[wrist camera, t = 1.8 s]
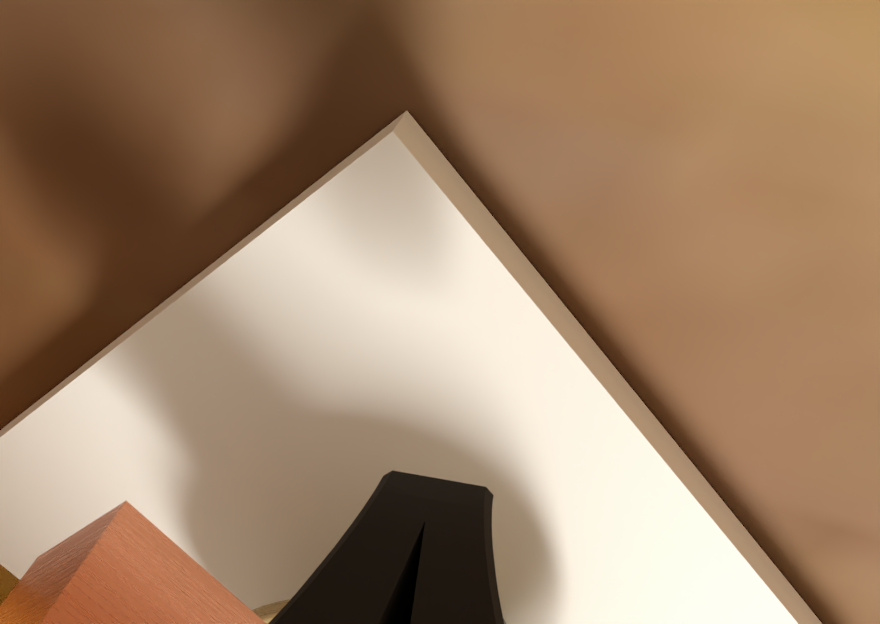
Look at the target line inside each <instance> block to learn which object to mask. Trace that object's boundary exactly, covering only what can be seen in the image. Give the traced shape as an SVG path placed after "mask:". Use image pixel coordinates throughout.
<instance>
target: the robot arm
mask: <svg viewBox="0 0 880 624" xmlns="http://www.w3.org/2000/svg"><path fill="white" fill-rule="evenodd" d="M493 496H494V495H493V494H492V493H491V492H490V491H489V489H488V488H487V487H485V486H479V485H473V484H467V483H462V482H456V481H450V480H445V479H439V478H433V477H427V476H422V475H416V474H410V473H405V472H399V471H393V470H392V471H391V472H389V473H387V474H385V475H384V476H383V477H382V479H381V481H380V482H379V484H378V486H377V487H376V489H375V491H374V492H373V494H372V495H371V497H370V498H369V500H368V501H367V503H366V504H365V506H364V507H363V509H362V510H361V511H360V513H359V514H358V516H357V517H356V518H355V520H354V521H353V523H352V524H351V525H350V527H349V528H348V529H347V531H346V532H345V533H344V535H343V536H342V537H341V539H340V540H339V541H338V543H337V544H336V545H335V547H334V548H333V549H332V550H331V552H330V553H329V554H328V555H327V556H326V558H325V559H324V560H323V561H322V562H321V564H320V565H319V566H318V567H317V569H316V570H315V571H314V572H313V573H312V575H311V576H310V577H309V578H308V580H307V581H306V582H305V583H304V584H303V586H302V587H301V588H300V589H299V590H298V592H297V593H296V594H295V595H294V596H293V597H292V598H291V600H290V601H289V602H288V603H287V604H286V605H285V606H284V607H283V608H282V609H281V610H280V612H279V613H278V614H277V615H276V616H275V617H274V618H273V619H272V620H271V621H270V622H269V623H268V624H504V620H503V615H502V610H501V605H500V599H499V593H498V587H497V580H496V572H495V563H494V554H493V541H492V504H493Z"/></svg>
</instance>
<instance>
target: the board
mask: <svg viewBox="0 0 880 624" xmlns="http://www.w3.org/2000/svg"><path fill="white" fill-rule="evenodd" d="M392 470H393V471H399V472H405V473H410V474H416V475H422V476H427V477H433V478H439V479H445V480H450V481H456V482H462V483H467V484H473V485H479V486H485V487H487V488H488V489H489V491H490V492H491V493H492V494H493V495H494V496H493V504H492V541H493V554H494V563H495V572H496V580H497V587H498V593H499V599H500V605H501V610H502V615H503V620H504V624H822V623H821V621H820V620H819V619H818V618H817V616H816V615H815V614H814V613H813V612H812V610H811V609H810V608H809V607H808V605H807V604H806V603H805V602H804V600H803V599H802V598H801V597H800V595H799V594H798V593H797V592H796V591H795V589H794V588H793V587H792V586H791V584H790V583H789V582H788V581H787V579H786V578H785V577H784V576H783V574H782V573H781V572H780V571H779V570H778V568H777V567H776V566H775V565H774V563H773V562H772V561H771V560H770V558H769V557H768V556H767V555H766V553H765V552H764V551H763V550H762V549H761V547H760V546H759V545H758V544H757V542H756V541H755V540H754V539H753V537H752V536H751V535H750V534H749V532H748V531H747V530H746V529H745V527H744V526H743V525H742V524H741V523H740V521H739V520H738V519H737V518H736V516H735V515H734V514H733V513H732V511H731V510H730V509H729V508H728V506H727V505H726V504H725V503H724V502H723V500H722V499H721V498H720V497H719V495H718V494H717V493H716V492H715V490H714V489H713V488H712V487H711V485H710V484H709V483H708V482H707V481H706V479H705V478H704V477H703V476H702V474H701V473H700V472H699V471H698V469H697V468H696V467H695V466H694V464H693V463H692V462H691V461H690V460H689V458H688V457H687V456H686V455H685V453H684V452H683V451H682V450H681V448H680V447H679V446H678V445H677V443H676V442H675V441H674V440H673V438H672V437H671V436H670V435H669V434H668V432H667V431H666V430H665V429H664V427H663V426H662V425H661V424H660V422H659V421H658V420H657V419H656V417H655V416H654V415H653V414H652V413H651V411H650V410H649V409H648V408H647V406H646V405H645V404H644V403H643V401H642V400H641V399H640V398H639V396H638V395H637V394H636V393H635V392H634V390H633V389H632V388H631V387H630V385H629V384H628V383H627V382H626V380H625V379H624V378H623V377H622V375H621V374H620V373H619V372H618V371H617V369H616V368H615V367H614V366H613V364H612V363H611V362H610V361H609V359H608V358H607V357H606V356H605V354H604V353H603V352H602V351H601V349H600V348H599V347H598V346H597V345H596V343H595V342H594V341H593V340H592V338H591V337H590V336H589V335H588V333H587V332H586V331H585V330H584V328H583V327H582V326H581V325H580V324H579V322H578V321H577V320H576V319H575V317H574V316H573V315H572V314H571V312H570V311H569V310H568V309H567V307H566V306H565V305H564V304H563V303H562V301H561V300H560V299H559V298H558V296H557V295H556V294H555V293H554V291H553V290H552V289H551V288H550V286H549V285H548V284H547V283H546V282H545V280H544V279H543V278H542V277H541V275H540V274H539V273H538V272H537V270H536V269H535V268H534V267H533V265H532V264H531V263H530V262H529V260H528V259H527V258H526V257H525V256H524V254H523V253H522V252H521V251H520V249H519V248H518V247H517V246H516V244H515V243H514V242H513V241H512V239H511V238H510V237H509V236H508V235H507V233H506V232H505V231H504V230H503V228H502V227H501V226H500V225H499V223H498V222H497V221H496V220H495V218H494V217H493V216H492V215H491V214H490V212H489V211H488V210H487V209H486V207H485V206H484V205H483V204H482V202H481V201H480V200H479V199H478V197H477V196H476V195H475V194H474V193H473V191H472V190H471V189H470V188H469V186H468V185H467V184H466V183H465V181H464V180H463V179H462V178H461V176H460V175H459V174H458V173H457V172H456V170H455V169H454V168H453V167H452V165H451V164H450V163H449V162H448V160H447V159H446V158H445V157H444V155H443V154H442V153H441V152H440V150H439V149H438V148H437V147H436V146H435V144H434V143H433V142H432V141H431V139H430V138H429V137H428V136H427V134H426V133H425V132H424V131H423V129H422V128H421V127H420V126H419V125H418V123H417V122H416V121H415V120H414V118H413V117H412V116H411V115H410V113H409V112H408V111H405V112H404V113H403V114H401V115H400V116H399V117H398V118H396V119H395V120H394V121H393V122H391V123H390V124H389V125H388V126H386V127H385V128H384V129H382V130H381V131H380V132H379V133H377V134H376V135H375V136H374V137H372V138H371V139H370V140H368V141H367V142H366V143H365V144H363V145H362V146H361V147H360V148H358V149H357V150H356V151H354V152H353V153H352V154H351V155H349V156H348V157H347V158H346V159H344V160H343V161H342V162H340V163H339V164H338V165H337V166H335V167H334V168H333V169H332V170H330V171H329V172H328V173H327V174H325V175H324V176H323V177H321V178H320V179H319V180H318V181H316V182H315V183H314V184H313V185H311V186H310V187H309V188H307V189H306V190H305V191H304V192H302V193H301V194H300V195H299V196H297V197H296V198H295V199H293V200H292V201H291V202H290V203H288V204H287V205H286V206H285V207H283V208H282V209H281V210H279V211H278V212H277V213H276V214H274V215H273V216H272V217H271V218H269V219H268V220H267V221H266V222H264V223H263V224H262V225H260V226H259V227H258V228H257V229H255V230H254V231H253V232H252V233H250V234H249V235H248V236H246V237H245V238H244V239H243V240H241V241H240V242H239V243H238V244H236V245H235V246H234V247H232V248H231V249H230V250H229V251H227V252H226V253H225V254H224V255H222V256H221V257H220V258H218V259H217V260H216V261H215V262H213V263H212V264H211V265H210V266H208V267H207V268H206V269H205V270H203V271H202V272H201V273H199V274H198V275H197V276H196V277H194V278H193V279H192V280H191V281H189V282H188V283H187V284H185V285H184V286H183V287H182V288H180V289H179V290H178V291H177V292H175V293H174V294H173V295H171V296H170V297H169V298H168V299H166V300H165V301H164V302H163V303H161V304H160V305H159V306H158V307H156V308H155V309H154V310H152V311H151V312H150V313H149V314H147V315H146V316H145V317H144V318H142V319H141V320H140V321H138V322H137V323H136V324H135V325H133V326H132V327H131V328H130V329H128V330H127V331H126V332H124V333H123V334H122V335H121V336H119V337H118V338H117V339H116V340H114V341H113V342H112V343H110V344H109V345H108V346H107V347H105V348H104V349H103V350H102V351H100V352H99V353H98V354H97V355H95V356H94V357H93V358H91V359H90V360H89V361H88V362H86V363H85V364H84V365H83V366H81V367H80V368H79V369H77V370H76V371H75V372H74V373H72V374H71V375H70V376H69V377H67V378H66V379H65V380H63V381H62V382H61V383H60V384H58V385H57V386H56V387H55V388H53V389H52V390H51V391H49V392H48V393H47V394H46V395H44V396H43V397H42V398H41V399H39V400H38V401H37V402H36V403H34V404H33V405H32V406H30V407H29V408H28V409H27V410H25V411H24V412H23V413H22V414H20V415H19V416H18V417H16V418H15V419H14V420H13V421H11V422H10V423H9V424H8V425H6V426H5V427H4V428H2V429H1V430H0V564H1V565H2V566H3V567H4V568H6V569H7V570H8V571H9V572H11V573H12V574H13V575H14V576H16V577H17V578H18V579H19V580H20V579H21V578H22V577H23V575H24V574H25V573H26V572H27V570H28V569H29V568H30V566H31V565H32V564H33V562H34V561H35V560H36V558H37V557H38V556H40V555H41V554H43V553H45V552H46V551H48V550H49V549H51V548H52V547H54V546H56V545H57V544H59V543H60V542H62V541H63V540H65V539H66V538H68V537H70V536H71V535H73V534H74V533H76V532H77V531H79V530H81V529H82V528H84V527H85V526H87V525H88V524H90V523H92V522H93V521H95V520H96V519H98V518H99V517H101V516H103V515H104V514H106V513H107V512H109V511H110V510H112V509H113V508H115V507H117V506H118V505H120V504H121V503H123V502H124V501H127V502H129V503H130V504H131V505H132V506H133V507H134V508H135V509H137V510H138V511H139V512H140V513H141V514H142V515H143V516H145V517H146V518H147V519H148V520H149V521H150V522H151V523H153V524H154V525H155V526H156V527H157V528H158V529H159V530H160V531H162V532H163V533H164V534H165V535H166V536H167V537H168V538H170V539H171V540H172V541H173V542H174V543H175V544H176V545H178V546H179V547H180V548H181V549H182V550H183V551H184V552H186V553H187V554H188V555H189V556H190V557H191V558H192V559H193V560H195V561H196V562H197V563H198V564H199V565H200V566H201V567H203V568H204V569H205V570H206V571H207V572H208V573H209V574H211V575H212V576H213V577H214V578H215V579H216V580H217V581H219V582H220V583H221V584H222V585H223V586H224V587H225V588H226V589H228V590H229V591H230V592H231V593H232V594H233V595H234V596H236V597H237V598H238V599H239V600H240V601H241V602H242V603H244V604H245V605H246V606H247V607H248V608H249V609H250V610H253V609H256V608H258V607H261V606H264V605H268V604H271V603H275V602H279V601H283V600H288V599H291V598H292V597H293V596H294V595H295V594H296V593H297V592H298V590H299V589H300V588H301V587H302V586H303V584H304V583H305V582H306V581H307V580H308V578H309V577H310V576H311V575H312V573H313V572H314V571H315V570H316V569H317V567H318V566H319V565H320V564H321V562H322V561H323V560H324V559H325V558H326V556H327V555H328V554H329V553H330V552H331V550H332V549H333V548H334V547H335V545H336V544H337V543H338V541H339V540H340V539H341V537H342V536H343V535H344V533H345V532H346V531H347V529H348V528H349V527H350V525H351V524H352V523H353V521H354V520H355V518H356V517H357V516H358V514H359V513H360V511H361V510H362V509H363V507H364V506H365V504H366V503H367V501H368V500H369V498H370V497H371V495H372V494H373V492H374V491H375V489H376V487H377V486H378V484H379V482H380V481H381V479H382V477H383V476H384V475H385V474H387V473H389V472H391V471H392Z"/></svg>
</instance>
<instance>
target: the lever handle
mask: <svg viewBox="0 0 880 624" xmlns="http://www.w3.org/2000/svg"><path fill="white" fill-rule="evenodd" d="M290 600H291V599H288V600H283V601H279V602H275V603H271V604H268V605H264V606H261V607H258V608H256V609H253V610H250V609H249V608H248V607H247V606H246V605H245V604H244V603H242V602H241V601H240V600H239V599H238V598H237V597H236V596H234V595H233V594H232V593H231V592H230V591H229V590H228V589H226V588H225V587H224V586H223V585H222V584H221V583H220V582H219V581H217V580H216V579H215V578H214V577H213V576H212V575H211V574H209V573H208V572H207V571H206V570H205V569H204V568H203V567H201V566H200V565H199V564H198V563H197V562H196V561H195V560H193V559H192V558H191V557H190V556H189V555H188V554H187V553H186V552H184V551H183V550H182V549H181V548H180V547H179V546H178V545H176V544H175V543H174V542H173V541H172V540H171V539H170V538H168V537H167V536H166V535H165V534H164V533H163V532H162V531H160V530H159V529H158V528H157V527H156V526H155V525H154V524H153V523H151V522H150V521H149V520H148V519H147V518H146V517H145V516H143V515H142V514H141V513H140V512H139V511H138V510H137V509H135V508H134V507H133V506H132V505H131V504H130V503H129V502H127V501H124V502H123V503H121V504H120V505H118V506H117V507H115V508H113V509H112V510H110V511H109V512H107V513H106V514H104V515H103V516H101V517H99V518H98V519H96V520H95V521H93V522H92V523H90V524H88V525H87V526H85V527H84V528H82V529H81V530H79V531H77V532H76V533H74V534H73V535H71V536H70V537H68V538H66V539H65V540H63V541H62V542H60V543H59V544H57V545H56V546H54V547H52V548H51V549H49V550H48V551H46V552H45V553H43V554H41V555H40V556H38V557H37V558H36V560H35V561H34V562H33V564H32V565H31V566H30V568H29V569H28V570H27V572H26V573H25V574H24V575H23V577H22V578H21V579H20V581H19V582H18V583H17V585H16V586H15V587H14V589H13V590H12V591H11V592H10V594H9V595H8V596H7V598H6V599H5V600H4V602H3V603H2V604H1V606H0V624H268V623H269V622H270V621H271V620H272V619H273V618H274V617H275V616H276V615H277V614H278V613H279V612H280V610H281V609H282V608H283V607H284V606H285V605H286V604H287V603H288V602H289V601H290Z"/></svg>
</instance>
